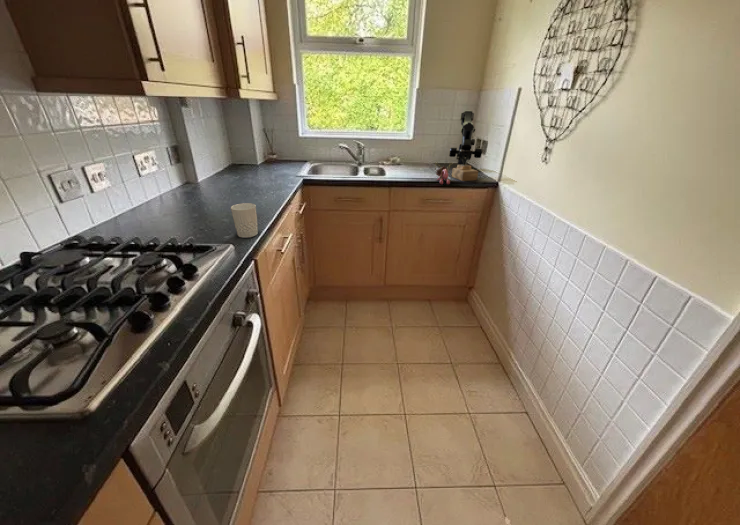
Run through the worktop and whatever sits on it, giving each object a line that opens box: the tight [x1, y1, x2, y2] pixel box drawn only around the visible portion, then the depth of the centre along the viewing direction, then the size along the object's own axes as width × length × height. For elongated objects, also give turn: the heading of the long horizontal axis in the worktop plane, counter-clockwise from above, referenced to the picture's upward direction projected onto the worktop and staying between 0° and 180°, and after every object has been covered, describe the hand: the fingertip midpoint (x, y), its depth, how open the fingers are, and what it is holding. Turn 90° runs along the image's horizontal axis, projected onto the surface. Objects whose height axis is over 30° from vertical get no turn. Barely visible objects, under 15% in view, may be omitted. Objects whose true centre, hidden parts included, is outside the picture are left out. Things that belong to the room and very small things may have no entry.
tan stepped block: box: [451, 164, 479, 182], centre depth 196 cm, size 12×10×7 cm
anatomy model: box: [434, 161, 454, 185], centre depth 186 cm, size 10×14×15 cm
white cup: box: [230, 202, 259, 239], centre depth 113 cm, size 8×8×10 cm
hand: (464, 164), depth 197 cm, fingers closed, pressing on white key
